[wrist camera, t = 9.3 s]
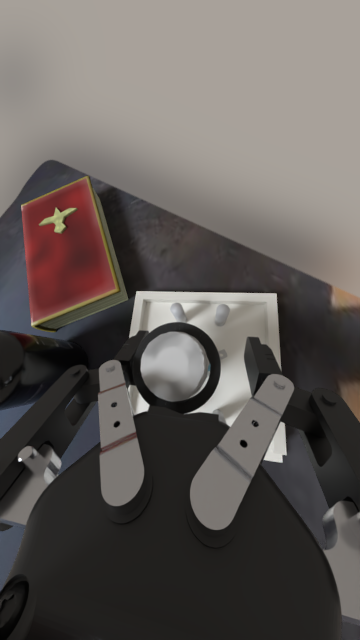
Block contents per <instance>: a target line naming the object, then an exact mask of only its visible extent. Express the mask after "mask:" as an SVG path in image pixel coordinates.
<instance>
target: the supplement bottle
mask: <svg viewBox="0 0 360 640" xmlns="http://www.w3.org/2000/svg"><path fill="white" fill-rule="evenodd" d="M76 365H84V366H86V368H87V369H88V360H87V356H86V353H85V352H84V350H83V349H82V348H81V347H80V346H79V345H78V344H76V343H73V342H69V341H64V340H59V339H53V338H47V337H41V336H35V335H30V334H24V333H18V332H12V331H5V330H0V410H4V409H9V408H14V407H18V406H23V405H27V404H32V403H36V402H37V401H38V400H39V399H40V398H41V397H42V396H43V394H44V393H45V392H46V391H47V390H48V389H49V388H50V387H51V386H52V385H53V384H54V383H55V382H56V381H57V380H58V379H59V378H60V377H61V376H62V375H63V374H64V373H65V372H66V371H67V370H68V369H69V368H71V367H73V366H76Z"/></svg>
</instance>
